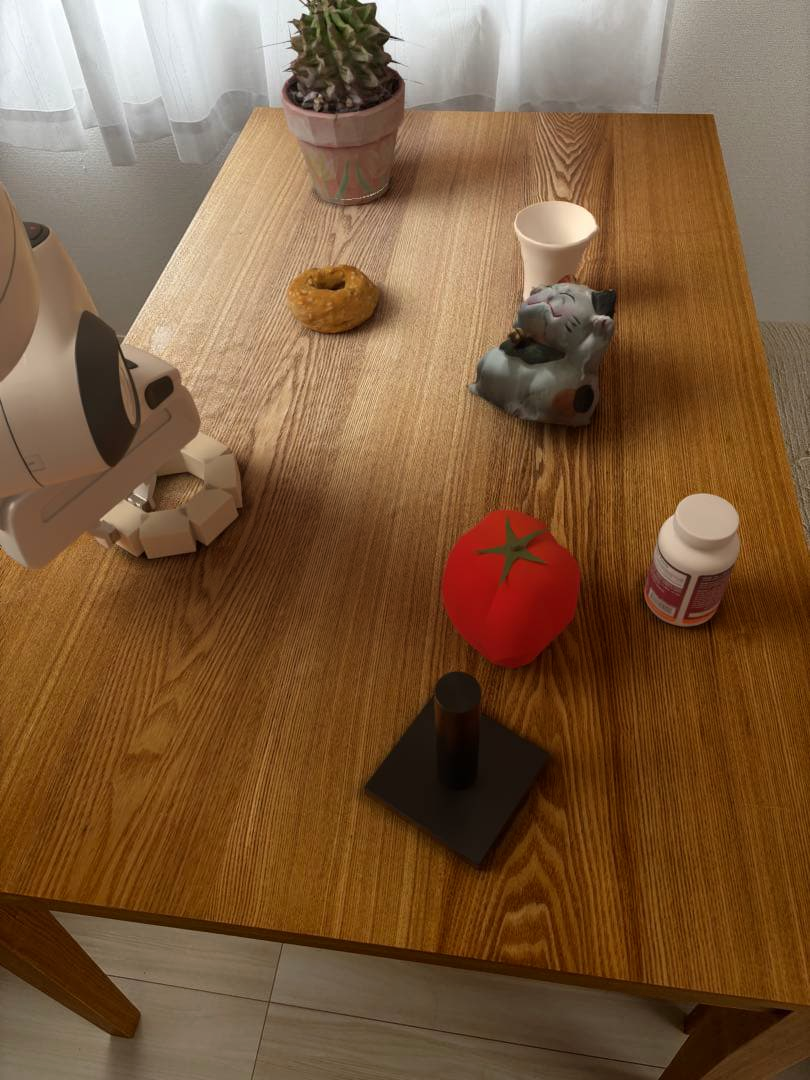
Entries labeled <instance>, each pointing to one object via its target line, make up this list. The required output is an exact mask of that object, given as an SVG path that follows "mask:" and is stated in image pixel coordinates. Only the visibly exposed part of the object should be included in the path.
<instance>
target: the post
mask: <svg viewBox="0 0 810 1080" xmlns="http://www.w3.org/2000/svg"><path fill="white" fill-rule="evenodd" d="M482 691H483V690H482V686H481V684H480V683H479V681H478V680H477V678H476V677H475V676H473V675H472V674H470V673H468V672H465V671H460V670H457V671H455V670H454V671H450V672H447V673H445V674H444V675H441V677H439V679H438V680H437V682H436V683H435V685H434V689H433V695H432V696H431V697H430V699H429V700H428V701H427V703H426V704H425V705H424V707H423V708H422V709H421V710H420V711H419V713H418V715H417V716H416V717H415V718H414V720H413V721H412V723H411V724H410V725H409V726H408V728H407V729H406V730H405V732H404V733H403V734H402V736H401V737H400V738H399V740H398V741H397V742H396V744H394V746H393V747H392V749H391V750H390V752H389V753H388V754H387V756H386V757H385V759H384V760H383V761H382V762H381V764H380V765H379V766H378V768H377V769H376V771H375V772H374V773H373V774H372V776H371V777H370V778H369V780H368V781H367V782H366V784H365V785H364V786H363V791H364V795H366V796H367V797H368V798H370V799H372V800H373V801H375V802H376V803H377V804H379V805H380V806H382V807H383V808H384V809H386V810H387V811H389V812H391V813H393V814H394V815H395V816H397V817H398V818H400V819H401V820H403V821H404V822H406V823H407V824H409V825H410V826H412V827H413V828H414V829H416V830H417V831H419V832H420V833H422V834H423V835H425V836H426V837H427V838H429V839H430V840H432V841H434V842H435V843H436V844H438V845H439V846H441V847H442V848H444V849H446V850H447V851H448V852H450V853H451V854H452V855H454V856H456V857H457V858H458V859H460V860H462V861H463V862H464V863H466V864H468V865H469V866H471V867H472V868H473V869H475V870H476V871H479V870H480V869H481V868H482V866H483V864H484V863H485V862H486V860H487V858H488V857H489V855H490V853H491V852H492V851H493V848H494V847H495V846H496V844H497V842H498V841H499V839H500V838H501V836H502V834H503V833H504V832H505V830H506V828H507V827H508V825H509V824H510V822H511V820H512V819H513V817H514V816H515V814H516V812H517V811H518V809H519V808H520V806H521V805H522V803H523V801H524V800H525V798H526V796H527V795H528V794H529V792H530V790H531V789H532V787H533V785H534V784H535V783H536V781H537V779H538V778H539V776H540V775H541V773H542V771H543V770H544V769H545V767H546V765H547V764H548V762H549V760H550V752H548V751H547V750H545V749H543V748H541V747H540V746H538V745H537V744H535V743H533V742H532V741H529V740H528V739H527V738H524V737H523V736H521V735H519V734H518V733H516V732H515V731H513V730H511V729H510V728H508V727H506V726H505V725H503V724H501V723H500V722H498V721H496V720H494V719H493V718H491V717H489V716H487V715H486V714H484V713H483V712H481V711H482V693H483V692H482Z"/></svg>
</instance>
